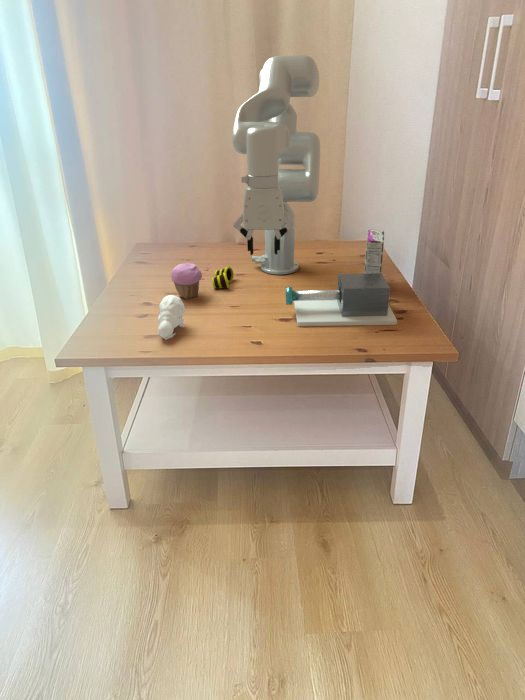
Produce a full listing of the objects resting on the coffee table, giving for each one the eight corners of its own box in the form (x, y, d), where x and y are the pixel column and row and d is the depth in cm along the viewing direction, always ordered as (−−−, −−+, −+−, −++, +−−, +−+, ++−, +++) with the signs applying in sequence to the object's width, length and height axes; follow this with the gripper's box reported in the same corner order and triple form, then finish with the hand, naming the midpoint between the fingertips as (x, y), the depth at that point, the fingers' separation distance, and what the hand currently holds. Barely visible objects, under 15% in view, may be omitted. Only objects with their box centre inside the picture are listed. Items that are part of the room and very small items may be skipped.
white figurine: (184, 292, 139) (173, 316, 130) (187, 320, 144) (177, 345, 134) (160, 291, 140) (148, 315, 130) (164, 319, 145) (153, 344, 135)
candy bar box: (363, 280, 168) (367, 229, 160) (379, 281, 167) (384, 229, 159) (361, 294, 158) (366, 240, 150) (379, 295, 158) (384, 241, 150)
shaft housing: (342, 316, 143) (343, 288, 139) (336, 300, 152) (338, 274, 148) (387, 315, 143) (390, 287, 139) (379, 300, 152) (382, 273, 148)
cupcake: (208, 296, 159) (206, 264, 154) (185, 304, 154) (182, 271, 149) (190, 288, 165) (187, 256, 160) (167, 296, 159) (163, 264, 154)
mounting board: (297, 326, 141) (297, 322, 140) (293, 301, 155) (293, 297, 154) (396, 324, 141) (397, 320, 140) (383, 299, 155) (384, 295, 154)
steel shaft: (286, 307, 144) (286, 291, 142) (285, 300, 149) (285, 284, 146) (370, 306, 144) (372, 289, 142) (367, 299, 149) (368, 282, 146)
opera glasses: (219, 281, 172) (215, 266, 169) (235, 278, 171) (231, 263, 168) (213, 293, 163) (209, 278, 161) (230, 290, 162) (226, 275, 160)
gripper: (226, 185, 127) (230, 258, 136) (299, 184, 127) (298, 257, 136) (228, 178, 134) (231, 249, 143) (297, 177, 134) (296, 247, 143)
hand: (263, 252), depth 139 cm, fingers open, 5 cm apart
